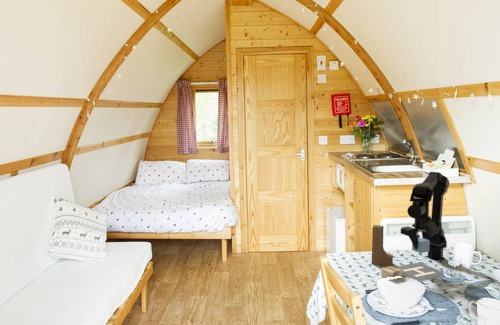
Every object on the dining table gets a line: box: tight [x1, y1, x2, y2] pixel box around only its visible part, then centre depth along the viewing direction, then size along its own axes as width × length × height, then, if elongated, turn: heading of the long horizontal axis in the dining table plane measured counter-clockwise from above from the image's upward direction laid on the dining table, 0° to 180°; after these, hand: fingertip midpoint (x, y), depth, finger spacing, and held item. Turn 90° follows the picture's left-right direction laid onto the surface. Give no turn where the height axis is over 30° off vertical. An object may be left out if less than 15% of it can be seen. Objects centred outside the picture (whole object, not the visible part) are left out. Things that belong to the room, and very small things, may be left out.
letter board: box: [394, 262, 445, 283], centre depth 195 cm, size 18×18×1 cm
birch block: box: [380, 265, 403, 278], centre depth 189 cm, size 6×6×4 cm
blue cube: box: [411, 237, 430, 254], centre depth 193 cm, size 5×5×5 cm
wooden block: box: [371, 224, 394, 267], centre depth 204 cm, size 9×4×18 cm, turn 65°
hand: (420, 248), depth 193 cm, fingers closed on blue cube, 5 cm apart
